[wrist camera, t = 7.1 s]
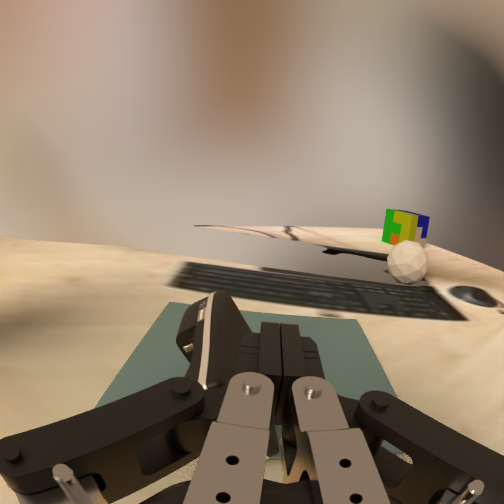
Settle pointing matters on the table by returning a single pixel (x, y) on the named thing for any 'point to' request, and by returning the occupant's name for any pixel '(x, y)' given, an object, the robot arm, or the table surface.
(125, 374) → the mat
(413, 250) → the geometric ball
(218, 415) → the robot arm
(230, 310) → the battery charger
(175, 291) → the table surface
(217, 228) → the table surface
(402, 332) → the table surface
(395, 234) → the puzzle toy
